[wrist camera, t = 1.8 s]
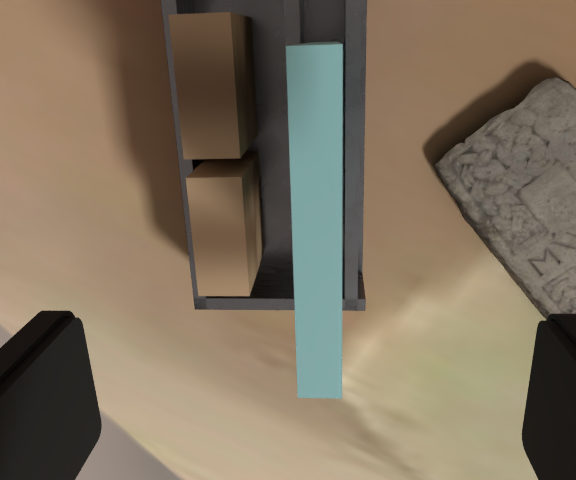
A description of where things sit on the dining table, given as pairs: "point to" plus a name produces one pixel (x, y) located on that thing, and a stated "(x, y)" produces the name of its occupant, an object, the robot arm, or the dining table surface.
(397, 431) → the dining table surface
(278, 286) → the metal rack
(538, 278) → the stone slab
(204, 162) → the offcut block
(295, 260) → the teal board
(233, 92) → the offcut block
